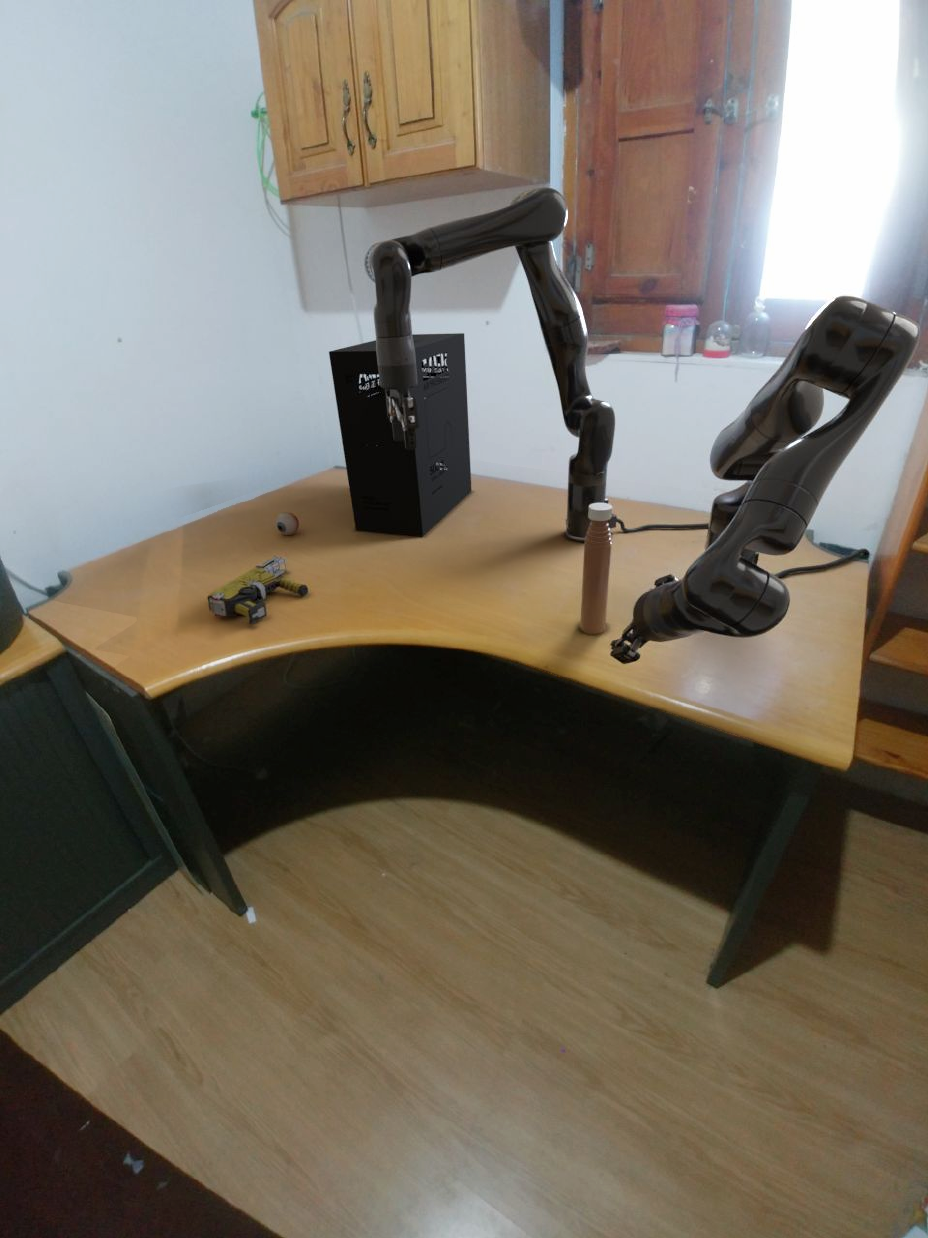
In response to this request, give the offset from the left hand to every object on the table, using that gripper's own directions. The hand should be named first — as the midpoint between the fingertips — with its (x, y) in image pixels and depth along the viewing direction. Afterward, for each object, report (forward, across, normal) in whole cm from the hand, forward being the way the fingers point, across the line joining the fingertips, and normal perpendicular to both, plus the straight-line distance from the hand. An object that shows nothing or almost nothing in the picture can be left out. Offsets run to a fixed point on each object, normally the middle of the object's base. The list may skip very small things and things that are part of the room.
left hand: (404, 444), depth 126 cm
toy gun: (+29, +2, +33) cm, 44 cm away
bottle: (+29, -40, -22) cm, 54 cm away
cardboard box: (+29, +40, -13) cm, 51 cm away
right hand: (+20, -55, -19) cm, 62 cm away
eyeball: (+29, +39, +24) cm, 55 cm away
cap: (+5, -40, -22) cm, 46 cm away
